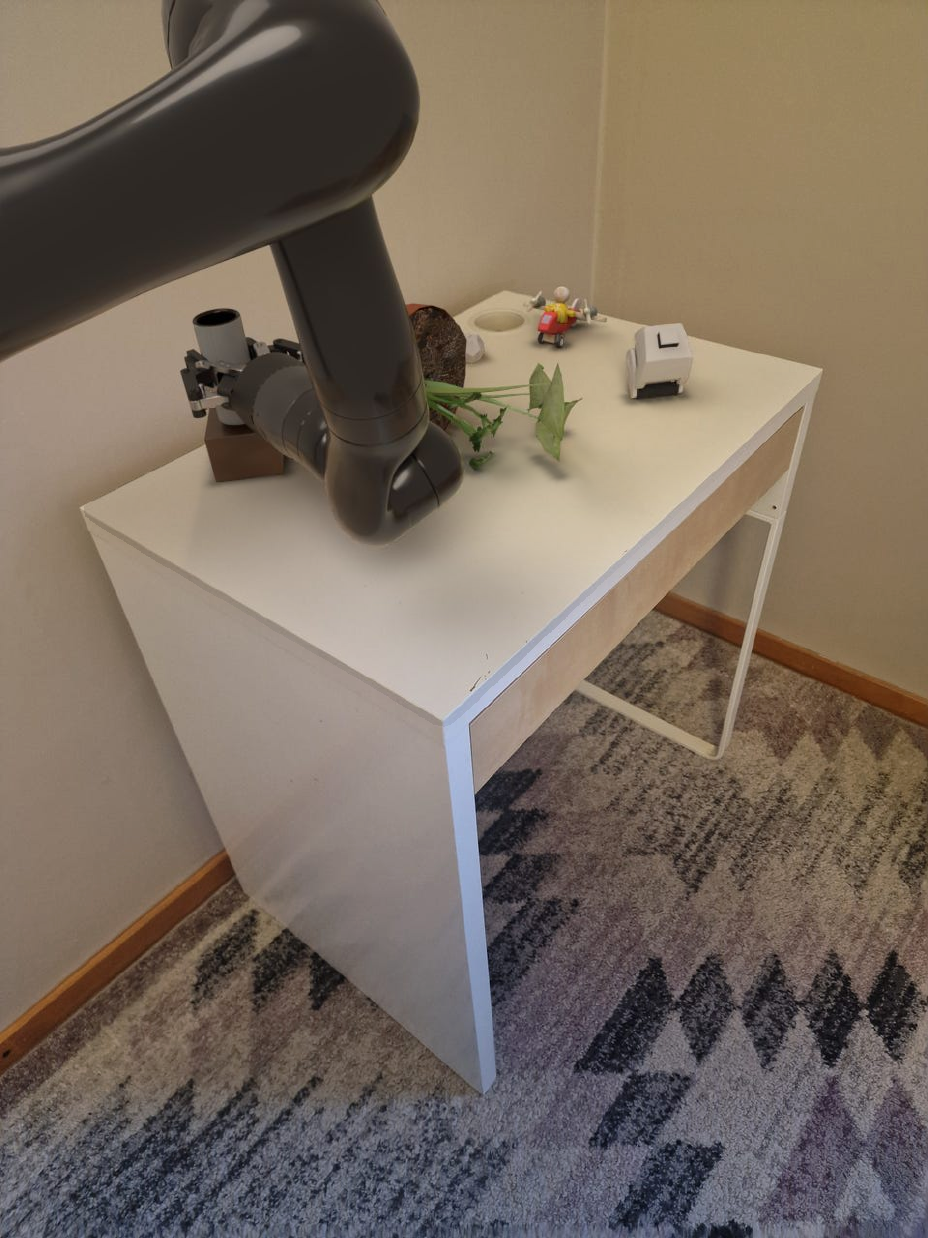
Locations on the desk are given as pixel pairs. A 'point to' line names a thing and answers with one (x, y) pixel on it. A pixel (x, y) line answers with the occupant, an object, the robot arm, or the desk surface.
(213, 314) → the grey cylindrical cup
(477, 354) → the grey rock
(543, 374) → the potted plant
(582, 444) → the desk surface
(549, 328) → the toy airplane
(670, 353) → the white boxy gadget
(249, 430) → the block
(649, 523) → the desk surface
